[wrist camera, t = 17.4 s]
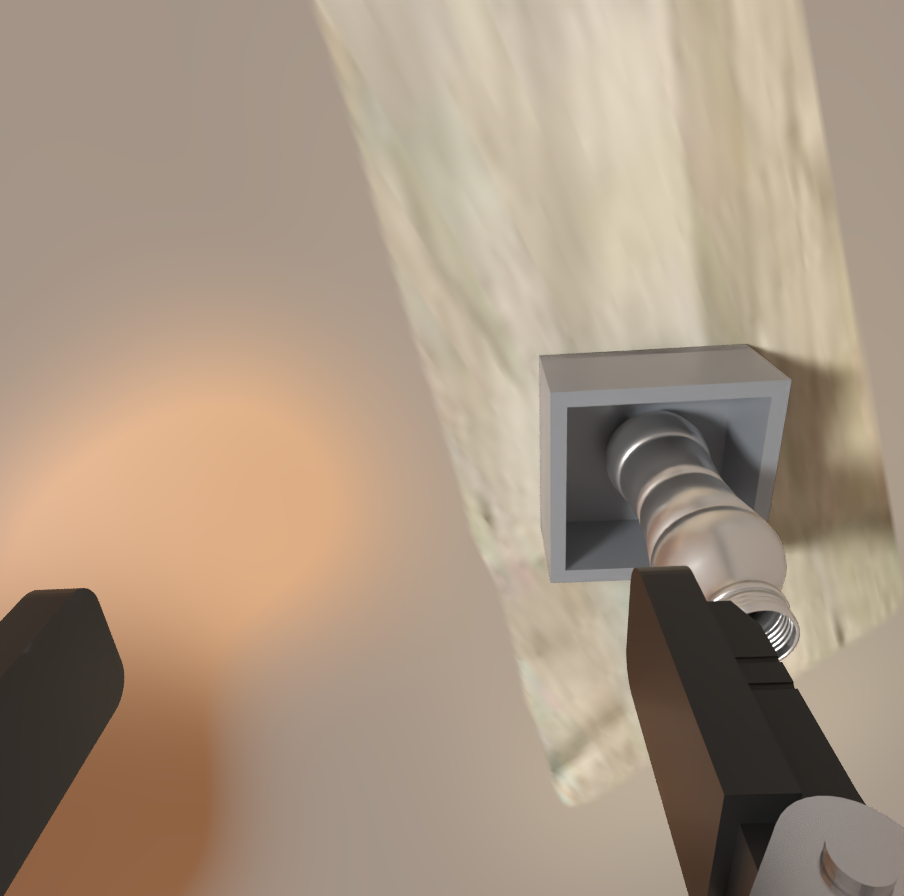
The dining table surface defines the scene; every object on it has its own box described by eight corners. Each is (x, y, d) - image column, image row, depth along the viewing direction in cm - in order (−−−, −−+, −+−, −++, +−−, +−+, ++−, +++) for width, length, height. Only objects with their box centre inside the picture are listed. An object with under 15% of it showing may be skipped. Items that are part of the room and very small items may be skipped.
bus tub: (539, 355, 45) (550, 392, 39) (746, 344, 45) (791, 379, 38) (540, 527, 52) (550, 583, 45) (723, 519, 51) (758, 574, 45)
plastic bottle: (586, 422, 46) (661, 611, 29) (681, 385, 45) (821, 559, 27) (615, 494, 49) (700, 709, 31) (705, 462, 48) (848, 667, 30)
